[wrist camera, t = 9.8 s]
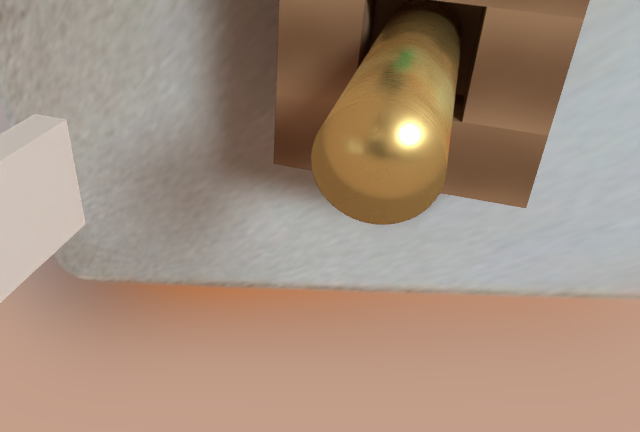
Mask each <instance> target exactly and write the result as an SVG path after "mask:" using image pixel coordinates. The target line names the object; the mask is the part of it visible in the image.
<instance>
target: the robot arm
mask: <svg viewBox="0 0 640 432" xmlns="http://www.w3.org/2000/svg"><path fill="white" fill-rule="evenodd" d="M84 225H85V219H84V213H83V208H82V203H81V197H80V192H79V186H78V181H77V176H76V170H75V165H74V159H73V154H72V148H71V143H70V138H69V132H68V127H67V121H66V119H61V118H55V117H49V116H44V115H38V114H34V115H32V116H31V117H29V118H27V119H25V120H24V121H22V122H20V123H18V124H17V125H15V126H13V127H11V128H10V129H8V130H6V131H5V132H3V133H1V134H0V303H1V302H2V301H3V300H4V299H5V298H6V297H7V296H8V295H9V294H10V293H11V292H13V291H14V290H15V289H16V288H17V287H18V286H19V285H20V284H21V283H22V282H23V281H24V280H26V279H27V278H28V277H29V276H30V275H31V274H32V273H33V272H34V271H35V270H36V269H37V268H39V267H40V266H41V265H42V264H43V263H44V262H45V261H46V260H47V259H48V258H49V257H50V256H52V255H53V254H54V253H55V252H56V251H57V250H58V249H59V248H60V247H61V246H62V245H63V244H65V243H66V242H67V241H68V240H69V239H70V238H71V237H72V236H73V235H74V234H75V233H76V232H78V231H79V230H80V229H81V228H82V227H83V226H84Z"/></svg>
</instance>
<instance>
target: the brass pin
mask: <svg viewBox="0 0 640 432" xmlns="http://www.w3.org/2000/svg"><path fill="white" fill-rule="evenodd" d="M461 43H462V30H461V25H460V22H459V20H458V18H457V16H456V14H455V13H454V12H453V11H452V9H450V8H449V7H448V6H447V5H446V4H444V3H442V2H440V1H436V0H411V1H408V2H406V3H404V4H403V5H401V6H400V7H399V8H398V9H397V10H395V12H394V13H393V14H392V15H391V17H390V19H389V20H388V22H387V23H386V25H385V26H384V28H383V30H382V31H381V33H380V34H379V36H378V38H377V39H376V41H375V42H374V44H373V45H372V47H371V49H370V50H369V52H368V53H367V55H366V57H365V58H364V60H363V61H362V63H361V65H360V66H359V68H358V69H357V71H356V72H355V74H354V76H353V77H352V79H351V80H350V82H349V84H348V85H347V87H346V88H345V90H344V92H343V93H342V95H341V96H340V98H339V99H338V101H337V103H336V104H335V106H334V107H333V109H332V111H331V112H330V114H329V115H328V117H327V119H326V120H325V122H324V123H323V125H322V126H321V128H320V130H319V131H318V133H317V135H316V137H315V140H314V143H313V147H312V153H311V164H312V171H313V175H314V178H315V180H316V183H317V185H318V187H319V189H320V190H321V192H322V194H323V195H324V196H325V198H326V199H327V200H328V201H329V202H330V203H331V204H332V205H333V206H334V207H335V208H337V209H338V210H339V211H341V212H342V213H344V214H345V215H347V216H349V217H351V218H354V219H356V220H359V221H362V222H366V223H371V224H395V223H400V222H403V221H406V220H409V219H411V218H414V217H416V216H418V215H419V214H421V213H422V212H424V211H425V210H426V209H427V208H428V207H429V206H430V205H431V204H432V203H433V202H434V201H435V200H436V198H437V197H438V195H439V193H440V191H441V189H442V187H443V184H444V181H445V177H446V170H447V161H448V153H449V144H450V136H451V127H452V119H453V110H454V102H455V94H456V85H457V77H458V68H459V60H460V51H461Z"/></svg>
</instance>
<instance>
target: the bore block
mask: <svg viewBox="0 0 640 432" xmlns="http://www.w3.org/2000/svg"><path fill="white" fill-rule="evenodd" d="M408 1H411V0H279V24H278V54H277V84H276V114H275V144H274V164H278V165H284V166H290V167H295V168H301V169H307V170H312V164H311V153H312V147H313V143H314V140H315V137H316V135H317V133H318V131H319V130H320V128H321V126H322V125H323V123H324V122H325V120H326V119H327V117H328V115H329V114H330V112H331V111H332V109H333V107H334V106H335V104H336V103H337V101H338V99H339V98H340V96H341V95H342V93H343V92H344V90H345V88H346V87H347V85H348V84H349V82H350V80H351V79H352V77H353V76H354V74H355V72H356V71H357V69H358V68H359V66H360V65H361V63H362V61H363V60H364V58H365V57H366V55H367V53H368V52H369V50H370V49H371V47H372V45H373V44H374V42H375V41H376V39H377V38H378V36H379V34H380V33H381V31H382V30H383V28H384V26H385V25H386V23H387V22H388V20H389V19H390V17H391V15H392V14H393V13H394V12H395V10H397V9H398V8H399V7H400V6H401V5H403V4H404V3H406V2H408ZM436 1H440V2H442V3H444V4H446V5H447V6H448V7H449V8H450V9H452V11H453V12H454V13H455V14H456V16H457V18H458V20H459V22H460V25H461V30H462V43H461V51H460V60H459V68H458V77H457V85H456V94H455V102H454V110H453V119H452V127H451V136H450V144H449V153H448V161H447V170H446V177H445V181H444V184H443V187H442V189H441V191H440V193H443V194H448V195H454V196H460V197H465V198H471V199H477V200H482V201H488V202H494V203H499V204H505V205H511V206H516V207H522V208H526V206H527V203H528V200H529V197H530V193H531V190H532V187H533V183H534V180H535V177H536V174H537V170H538V167H539V164H540V161H541V157H542V154H543V151H544V148H545V144H546V141H547V138H548V134H549V131H550V128H551V125H552V121H553V118H554V115H555V112H556V108H557V105H558V102H559V99H560V95H561V92H562V89H563V86H564V82H565V79H566V76H567V72H568V69H569V66H570V63H571V59H572V56H573V53H574V50H575V46H576V43H577V40H578V37H579V33H580V30H581V27H582V23H583V20H584V17H585V14H586V10H587V7H588V4H589V1H590V0H436Z"/></svg>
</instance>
